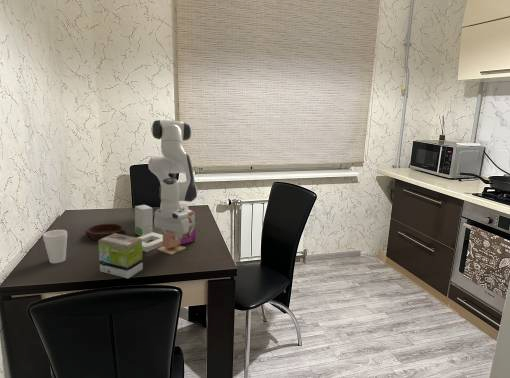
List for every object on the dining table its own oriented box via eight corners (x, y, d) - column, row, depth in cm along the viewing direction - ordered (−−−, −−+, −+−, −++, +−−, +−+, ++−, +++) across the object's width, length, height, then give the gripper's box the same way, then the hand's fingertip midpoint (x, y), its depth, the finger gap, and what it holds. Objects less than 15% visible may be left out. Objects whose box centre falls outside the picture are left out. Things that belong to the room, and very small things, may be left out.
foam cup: (66, 263, 160) (64, 235, 157) (43, 265, 157) (40, 237, 154) (71, 255, 169) (68, 229, 166) (48, 257, 166) (46, 230, 163)
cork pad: (171, 244, 186) (171, 243, 186) (185, 248, 181) (185, 247, 181) (156, 250, 178) (156, 249, 178) (171, 254, 173) (171, 253, 173)
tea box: (99, 272, 152) (97, 239, 149) (116, 263, 162) (114, 232, 158) (128, 279, 147) (126, 245, 144) (143, 269, 157) (142, 237, 153)
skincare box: (134, 233, 201) (133, 206, 197) (145, 230, 206) (144, 204, 202) (142, 237, 195) (141, 209, 192) (153, 234, 200) (152, 207, 197)
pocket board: (152, 236, 196) (152, 232, 196) (171, 241, 190) (171, 237, 189) (127, 245, 182) (127, 241, 182) (146, 252, 175) (146, 247, 175)
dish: (120, 243, 186) (120, 234, 185) (77, 242, 186) (76, 233, 184) (131, 232, 203) (131, 223, 202) (92, 231, 203) (91, 222, 201)
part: (172, 242, 183) (172, 231, 182) (179, 244, 181) (179, 233, 180) (162, 246, 177) (162, 235, 176) (169, 248, 175) (169, 237, 174)
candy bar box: (177, 246, 184) (177, 215, 180) (172, 243, 187) (172, 213, 184) (196, 241, 192) (195, 211, 188) (190, 238, 195) (190, 209, 192)
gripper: (150, 209, 178) (151, 236, 181) (181, 216, 168) (182, 244, 171) (159, 206, 183) (160, 232, 186) (190, 213, 173) (191, 240, 176)
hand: (171, 238), depth 179 cm, fingers closed on part, 4 cm apart
